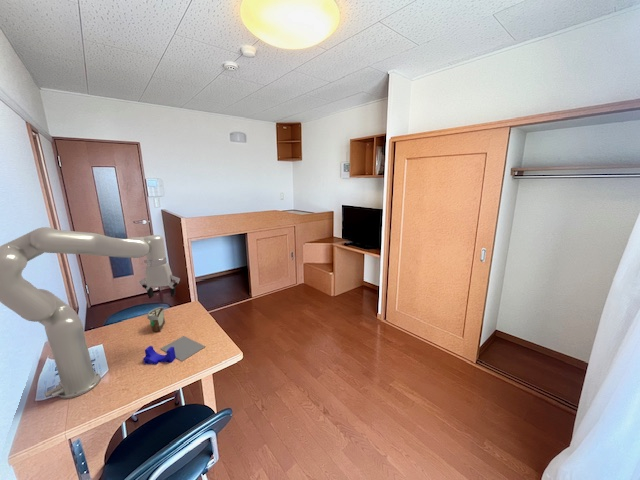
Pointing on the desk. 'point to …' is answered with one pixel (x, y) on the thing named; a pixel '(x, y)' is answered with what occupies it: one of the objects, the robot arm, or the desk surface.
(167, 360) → the blue angular piece
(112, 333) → the desk surface
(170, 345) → the pad
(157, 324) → the food container
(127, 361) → the desk surface
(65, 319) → the robot arm
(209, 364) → the desk surface
